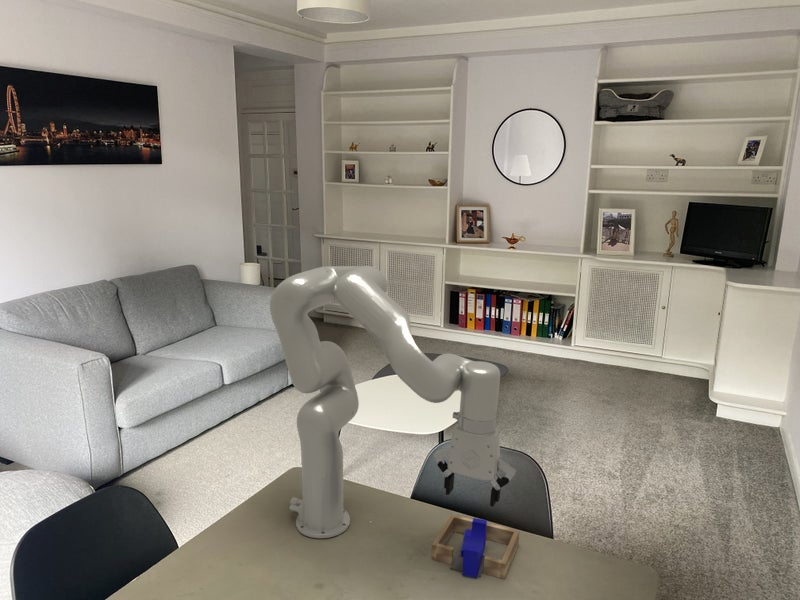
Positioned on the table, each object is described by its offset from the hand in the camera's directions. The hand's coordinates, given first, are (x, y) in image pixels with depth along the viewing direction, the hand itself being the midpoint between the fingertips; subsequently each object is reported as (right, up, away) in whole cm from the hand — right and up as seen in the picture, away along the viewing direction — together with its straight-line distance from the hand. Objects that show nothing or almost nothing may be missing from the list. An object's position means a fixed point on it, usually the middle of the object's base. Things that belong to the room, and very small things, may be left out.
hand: (471, 497), depth 130 cm
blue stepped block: (0, -14, +3) cm, 15 cm away
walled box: (+2, -14, +6) cm, 15 cm away
